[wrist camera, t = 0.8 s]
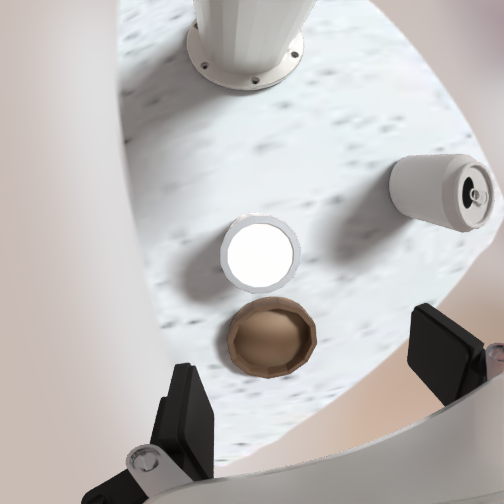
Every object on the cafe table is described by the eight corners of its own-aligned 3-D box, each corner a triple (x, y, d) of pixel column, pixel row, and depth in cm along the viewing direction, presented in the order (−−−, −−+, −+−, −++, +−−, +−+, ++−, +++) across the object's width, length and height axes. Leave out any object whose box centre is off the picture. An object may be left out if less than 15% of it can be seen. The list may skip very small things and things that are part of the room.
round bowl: (220, 306, 32) (219, 314, 30) (307, 288, 33) (312, 295, 30) (237, 374, 35) (238, 384, 33) (314, 357, 35) (318, 367, 33)
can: (387, 150, 29) (456, 143, 18) (433, 163, 30) (501, 165, 18) (381, 212, 31) (448, 231, 19) (427, 219, 32) (493, 240, 20)
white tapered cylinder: (289, 262, 32) (306, 285, 25) (228, 275, 31) (228, 301, 25) (279, 201, 30) (295, 208, 23) (215, 213, 30) (211, 224, 23)
